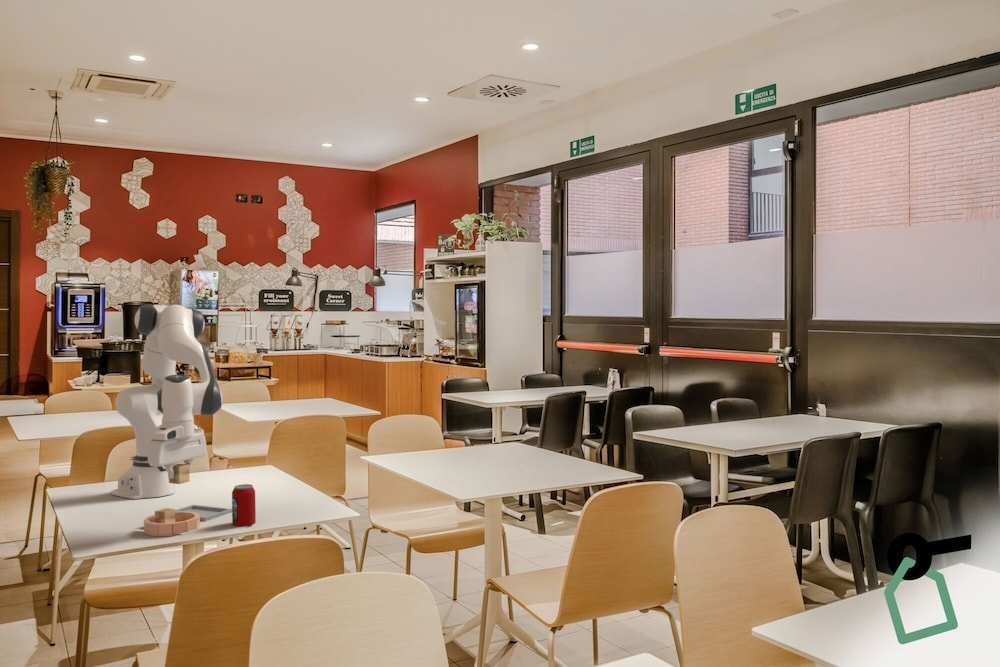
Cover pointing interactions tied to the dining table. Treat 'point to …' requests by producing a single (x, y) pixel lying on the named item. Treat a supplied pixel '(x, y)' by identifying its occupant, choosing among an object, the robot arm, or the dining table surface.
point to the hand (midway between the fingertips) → (178, 476)
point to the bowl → (172, 524)
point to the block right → (180, 474)
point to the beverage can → (243, 505)
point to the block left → (165, 515)
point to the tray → (206, 511)
